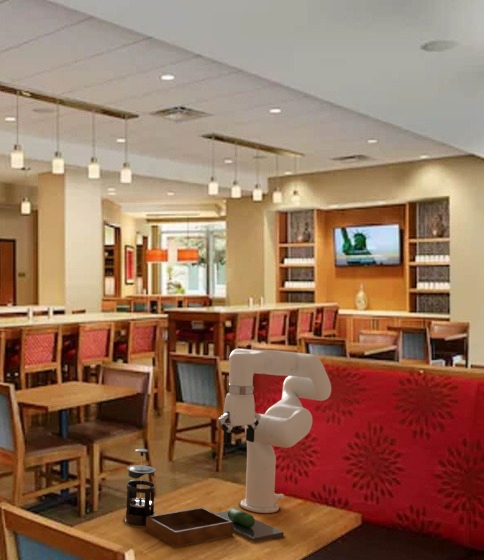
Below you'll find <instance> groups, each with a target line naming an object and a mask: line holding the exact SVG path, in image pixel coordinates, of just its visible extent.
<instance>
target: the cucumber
mask: <svg viewBox="0 0 484 560" xmlns="http://www.w3.org/2000/svg"><path fill="white" fill-rule="evenodd" d="M227 511H228V518H229V519H230V520H232V521H234V522H236V523H238V524H240V525H242V526H244V527H247V528H250V527H252V526H253V525H254V524H255V520H256V519H255V517H254V516H253V515H252V514H250V513H248V512H245V511H243V510H241V509H238V508H237V507H231V508H229V509H228V510H227Z"/></svg>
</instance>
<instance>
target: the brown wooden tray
mask: <svg viewBox="0 0 484 560" xmlns="http://www.w3.org/2000/svg"><path fill="white" fill-rule="evenodd" d="M215 513H216V512H213V511H212V510H209V509H207V508H205V507H203V506H202V507H201V506H200V507H195V508H189V509H184V510H177V511H170V512H166V513H165V512H164V513H159V514H154V515H153V516H147V517H146V526H145V530H146V531H147V532H148V533H150V534H153V535H154V536H156V537H158V538H160V539H161V540H163V542H164V541H165V542H166V543H168V544H170V545H171V546H173V547H180V546H185V545H189V544H194V543H201V542H204V541H205V542H206V541H211V540H215V539H216V540H217V539H221V538H225V537H230V536H233V535H234V534H233V533H234V532H233V522H232V521H230V520H228V519H226V518H224V517H222V516H220V515H217V514H215Z"/></svg>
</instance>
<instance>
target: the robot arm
mask: <svg viewBox="0 0 484 560" xmlns="http://www.w3.org/2000/svg"><path fill="white" fill-rule="evenodd" d="M228 364H229V369H228V370H229V373H228V393H226V396H225V400H224V404H223V413H222V415H221V416H220V417H218V418H217V422H218V424H219V427H220V429H221V431H222V432H223V439H222V443H223V444H225V445H228V446H231V445H232V441H233V440H232V439H233V437H232V436H233V434H232V432H231V431H232V430H233V428H234V427H241V426H244V434H245V440H246V473H245V497H244V498H243V499H241V501H240V506H241V508H242V509H245V510H247V511H249V512H254V513H260V514H270V513H276V512H278V511H279V509H280V506H279V504H278V503H277V502H278V501H282V500H285V494H283V493H278V494H277V493H276V492H275V491H276V489H275V487H276V463H277V456H276V452H275V450H274V447H279V448H284V449H289V448H292V447H294V446H295V445H296V444H298V443H299V442H300V441H301V440H302V439H304V438H305V437H306V436H307V435H308V434H309V433H310V431H311V429H312V426H313V415H312V413H311V412H310V410H309V409H307V408H305V407H303V404H302V402H301V400H300V398H301V399H307V400H313V401H318V402H319V401H321V402H323V401H326V400H328V399H329V398H330V396H331V393H332V384H331V381H330V378H329V376H328V373H327V371H326V369H325V366H324V365H323V363H322V361H321V359H320V357H318V355H315V354H312V353H303V352H294V351H285V350H284V351H283V350H272V349H271V350H270V349H249V348H240V347H239V348H235V349H233V350H232V351H231V352H230V353H229V357H228ZM254 374H258V375H270V376H283V377H284V376H286V377H285V379H284V381H283V384H282V393H281V399H280V400H279V401H277V402H276V403H274V404H273V405H271V406H270V407H269V408H268V409H267V410H266V411H265V413H257V412H256V405H255V397H254V394H253V391H254V390H255V387H254Z"/></svg>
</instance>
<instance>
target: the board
mask: <svg viewBox="0 0 484 560" xmlns="http://www.w3.org/2000/svg"><path fill="white" fill-rule="evenodd" d="M228 511H229V510H227V511H221V512H214V513H215V514H217V515H220V516H222V517H224V518H226V519H228V520H230V519H229V518H228ZM230 521H232V520H230ZM232 522H233V533H235V534H237V535H238V536H239V535H240V536H242V537H244V538H245V539H247V540H250V541H251V542H254V543H255V542H259V541H263V540H269V539H272V540H275V539H281V538H284V536H285V535H284V531H282V530H280V529H278V528H275V527H274V526H272V525H269V524H266V523H264V522H262V521H260V520H258V519H255V524H254V525H253V526H252V527H250V528H247V527H244V526H242V525H240V524H238V523H236V522H234V521H232Z"/></svg>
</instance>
